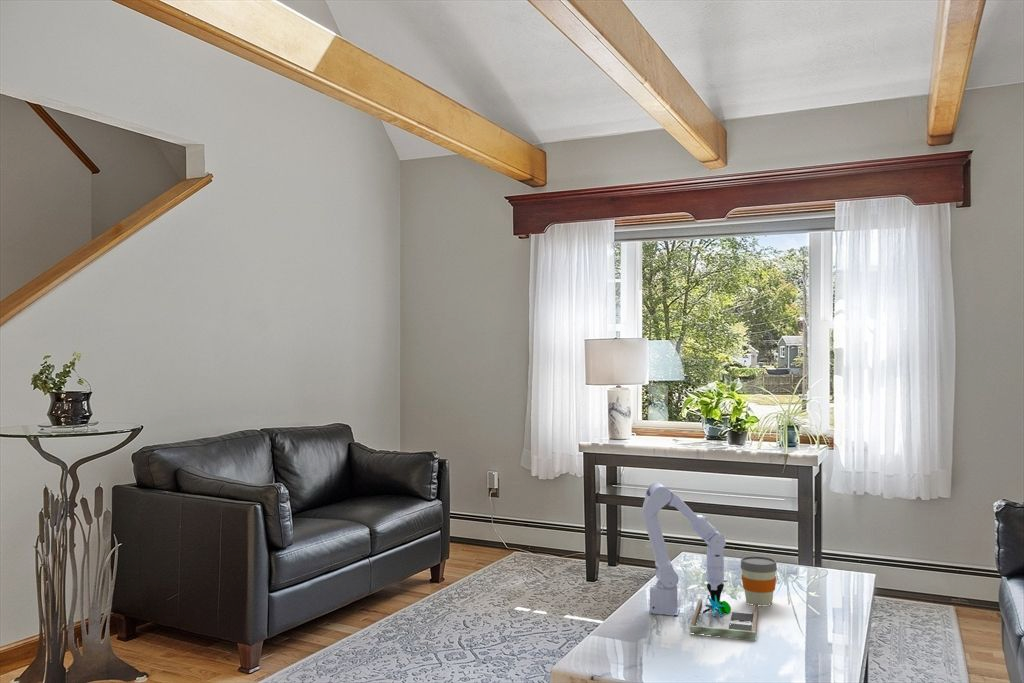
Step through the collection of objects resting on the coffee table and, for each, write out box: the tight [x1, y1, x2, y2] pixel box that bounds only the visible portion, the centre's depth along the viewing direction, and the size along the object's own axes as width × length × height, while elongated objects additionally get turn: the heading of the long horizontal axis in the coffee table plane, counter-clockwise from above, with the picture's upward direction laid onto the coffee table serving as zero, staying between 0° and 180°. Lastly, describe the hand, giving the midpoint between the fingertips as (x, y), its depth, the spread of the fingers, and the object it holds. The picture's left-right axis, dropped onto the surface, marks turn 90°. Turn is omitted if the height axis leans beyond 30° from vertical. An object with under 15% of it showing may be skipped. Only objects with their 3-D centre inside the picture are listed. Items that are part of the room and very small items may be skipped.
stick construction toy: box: [702, 594, 732, 619], centre depth 284 cm, size 12×7×8 cm
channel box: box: [689, 598, 759, 641], centre depth 275 cm, size 20×30×2 cm, turn 162°
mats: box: [728, 611, 754, 631], centre depth 274 cm, size 7×20×1 cm, turn 162°
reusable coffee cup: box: [740, 555, 778, 607], centre depth 296 cm, size 12×13×15 cm
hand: (715, 605), depth 287 cm, fingers closed
